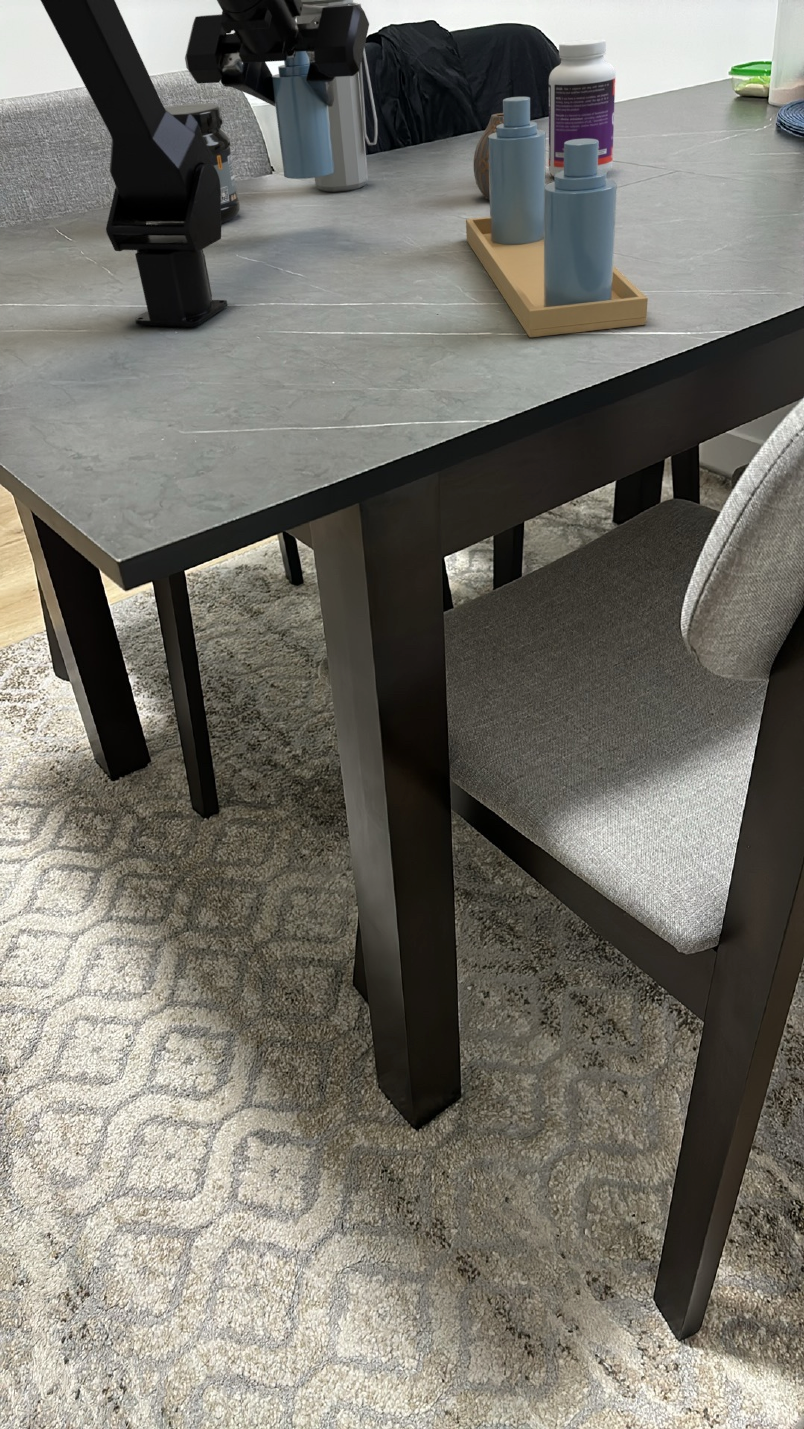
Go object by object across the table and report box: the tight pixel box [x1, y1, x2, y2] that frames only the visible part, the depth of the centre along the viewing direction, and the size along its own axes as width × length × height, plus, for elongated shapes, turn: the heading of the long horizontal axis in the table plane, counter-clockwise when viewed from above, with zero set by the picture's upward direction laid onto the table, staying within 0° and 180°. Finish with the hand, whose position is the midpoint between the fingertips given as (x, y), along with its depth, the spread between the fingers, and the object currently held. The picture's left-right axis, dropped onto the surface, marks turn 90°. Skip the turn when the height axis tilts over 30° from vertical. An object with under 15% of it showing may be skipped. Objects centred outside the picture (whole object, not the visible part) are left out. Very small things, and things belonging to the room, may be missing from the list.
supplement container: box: [160, 103, 241, 224], centre depth 125 cm, size 10×10×12 cm
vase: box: [473, 112, 503, 201], centre depth 123 cm, size 7×7×9 cm
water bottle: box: [296, 0, 378, 193], centre depth 130 cm, size 9×8×25 cm
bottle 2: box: [543, 139, 618, 307], centre depth 82 cm, size 6×6×12 cm
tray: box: [465, 216, 649, 338], centre depth 96 cm, size 34×10×2 cm, turn 6°
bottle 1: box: [488, 96, 547, 245], centre depth 103 cm, size 6×6×12 cm
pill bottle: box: [548, 38, 616, 177], centre depth 128 cm, size 8×8×14 cm
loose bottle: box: [272, 51, 334, 180], centre depth 111 cm, size 6×6×12 cm
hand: (307, 103), depth 112 cm, fingers closed on loose bottle, 5 cm apart
